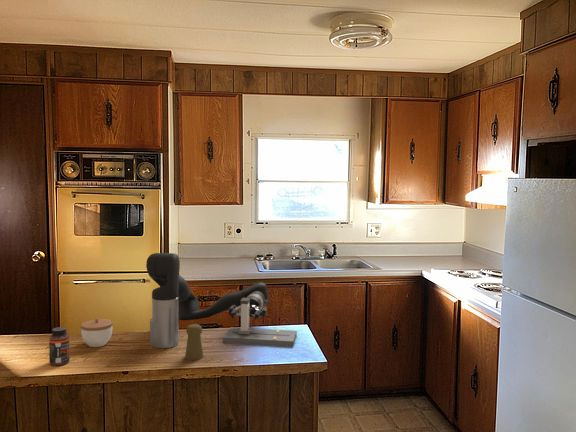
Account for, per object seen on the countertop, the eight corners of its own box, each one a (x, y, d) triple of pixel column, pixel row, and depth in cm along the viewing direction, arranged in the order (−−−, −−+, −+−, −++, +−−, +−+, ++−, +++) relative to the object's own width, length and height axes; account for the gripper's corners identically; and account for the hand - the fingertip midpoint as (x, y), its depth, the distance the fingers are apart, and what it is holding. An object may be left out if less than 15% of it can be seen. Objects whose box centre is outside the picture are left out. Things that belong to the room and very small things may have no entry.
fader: (238, 333, 179) (238, 300, 178) (241, 329, 184) (241, 297, 183) (248, 334, 178) (249, 301, 177) (251, 330, 183) (251, 297, 182)
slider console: (222, 342, 176) (222, 336, 176) (230, 332, 188) (230, 326, 188) (293, 346, 173) (293, 340, 173) (296, 335, 185) (296, 330, 185)
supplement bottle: (62, 367, 152) (62, 332, 151) (45, 365, 152) (44, 331, 151) (73, 360, 157) (72, 326, 157) (56, 358, 158) (55, 325, 157)
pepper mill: (199, 361, 158) (199, 328, 157) (182, 359, 160) (182, 327, 159) (206, 354, 164) (206, 323, 163) (189, 352, 165) (189, 321, 165)
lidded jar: (114, 338, 179) (113, 313, 178) (111, 348, 169) (111, 322, 168) (83, 340, 176) (82, 315, 175) (78, 350, 166) (78, 324, 165)
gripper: (269, 314, 194) (262, 327, 178) (235, 312, 196) (225, 325, 180) (270, 296, 194) (263, 307, 178) (235, 294, 195) (225, 305, 179)
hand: (244, 316), depth 179 cm, fingers open, 8 cm apart
